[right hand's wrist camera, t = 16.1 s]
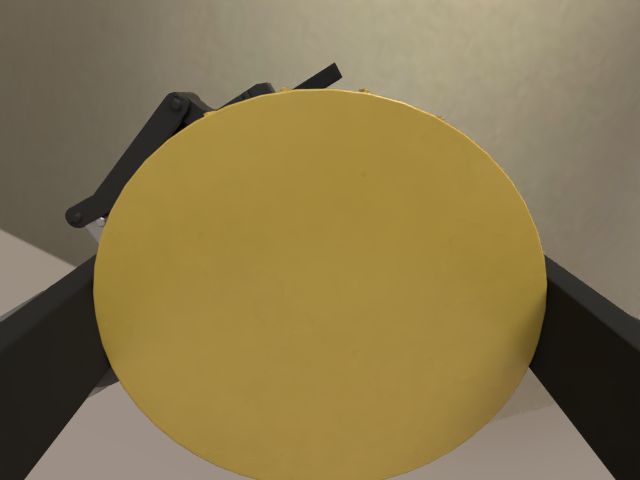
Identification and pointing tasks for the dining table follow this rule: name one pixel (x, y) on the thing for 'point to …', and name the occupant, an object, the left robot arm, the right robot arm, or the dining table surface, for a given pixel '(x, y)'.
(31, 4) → the dining table surface
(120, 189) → the left robot arm
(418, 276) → the lid
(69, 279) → the right robot arm
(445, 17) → the dining table surface
